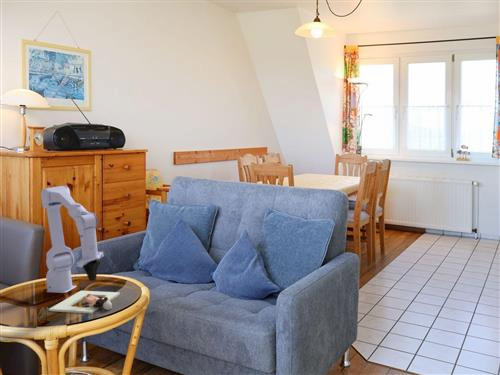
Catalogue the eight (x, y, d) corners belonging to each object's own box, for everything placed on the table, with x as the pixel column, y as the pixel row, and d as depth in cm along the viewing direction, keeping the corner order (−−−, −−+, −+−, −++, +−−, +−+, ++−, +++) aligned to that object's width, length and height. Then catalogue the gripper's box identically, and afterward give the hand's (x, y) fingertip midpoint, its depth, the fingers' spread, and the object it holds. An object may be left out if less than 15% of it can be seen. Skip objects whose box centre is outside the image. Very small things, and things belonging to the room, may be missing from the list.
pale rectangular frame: (49, 311, 184) (48, 308, 183) (81, 292, 203) (81, 290, 202) (91, 313, 179) (91, 311, 178) (119, 294, 198) (119, 292, 198)
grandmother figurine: (81, 307, 186) (104, 317, 179) (78, 299, 184) (101, 309, 177) (96, 295, 191) (119, 304, 185) (94, 287, 189) (117, 296, 183)
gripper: (87, 250, 178) (90, 286, 180) (108, 240, 192) (111, 274, 194) (70, 250, 180) (74, 286, 182) (93, 240, 194) (96, 273, 196)
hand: (92, 280), depth 188 cm, fingers closed
